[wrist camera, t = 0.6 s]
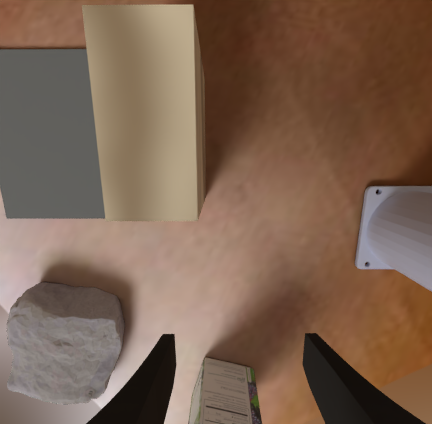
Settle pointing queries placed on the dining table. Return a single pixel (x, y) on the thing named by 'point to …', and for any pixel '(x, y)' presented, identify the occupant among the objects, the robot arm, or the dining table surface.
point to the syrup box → (225, 395)
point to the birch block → (148, 110)
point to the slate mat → (48, 135)
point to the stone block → (64, 342)
